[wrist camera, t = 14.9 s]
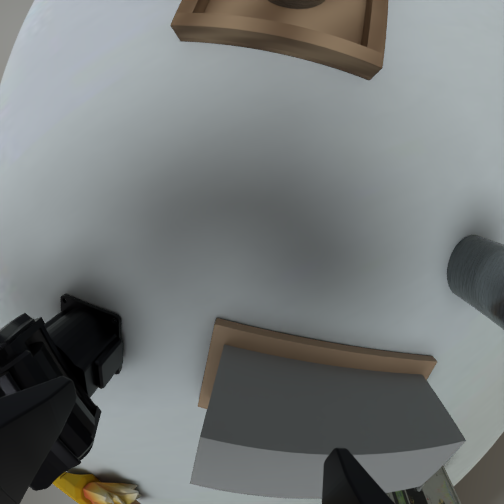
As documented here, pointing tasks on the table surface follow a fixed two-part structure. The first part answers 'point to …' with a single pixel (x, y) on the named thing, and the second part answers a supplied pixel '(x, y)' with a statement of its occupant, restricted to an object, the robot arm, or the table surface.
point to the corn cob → (96, 490)
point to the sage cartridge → (479, 275)
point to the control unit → (315, 414)
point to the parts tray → (293, 30)
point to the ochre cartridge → (297, 3)
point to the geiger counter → (428, 491)
